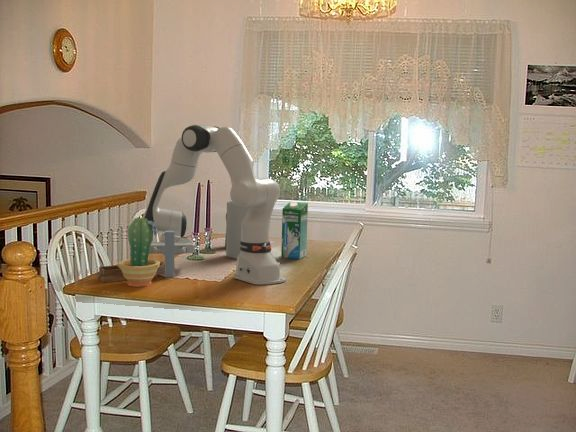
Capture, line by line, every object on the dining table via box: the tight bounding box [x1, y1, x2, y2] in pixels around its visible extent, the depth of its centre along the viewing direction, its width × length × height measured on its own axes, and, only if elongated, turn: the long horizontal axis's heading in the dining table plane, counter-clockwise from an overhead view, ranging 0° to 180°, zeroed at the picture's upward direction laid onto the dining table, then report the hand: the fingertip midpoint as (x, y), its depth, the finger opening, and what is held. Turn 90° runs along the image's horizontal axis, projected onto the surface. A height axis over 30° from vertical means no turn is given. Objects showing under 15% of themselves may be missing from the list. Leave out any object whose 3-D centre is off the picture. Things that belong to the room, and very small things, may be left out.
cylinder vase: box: [225, 200, 248, 260], centre depth 303 cm, size 12×12×25 cm
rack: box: [97, 265, 158, 283], centre depth 257 cm, size 7×21×4 cm, turn 120°
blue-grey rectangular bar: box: [164, 231, 175, 279], centre depth 261 cm, size 4×4×18 cm
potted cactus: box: [117, 216, 161, 288], centre depth 247 cm, size 15×15×25 cm
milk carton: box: [280, 201, 309, 260], centre depth 306 cm, size 9×9×25 cm
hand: (169, 251), depth 264 cm, fingers open, 8 cm apart
